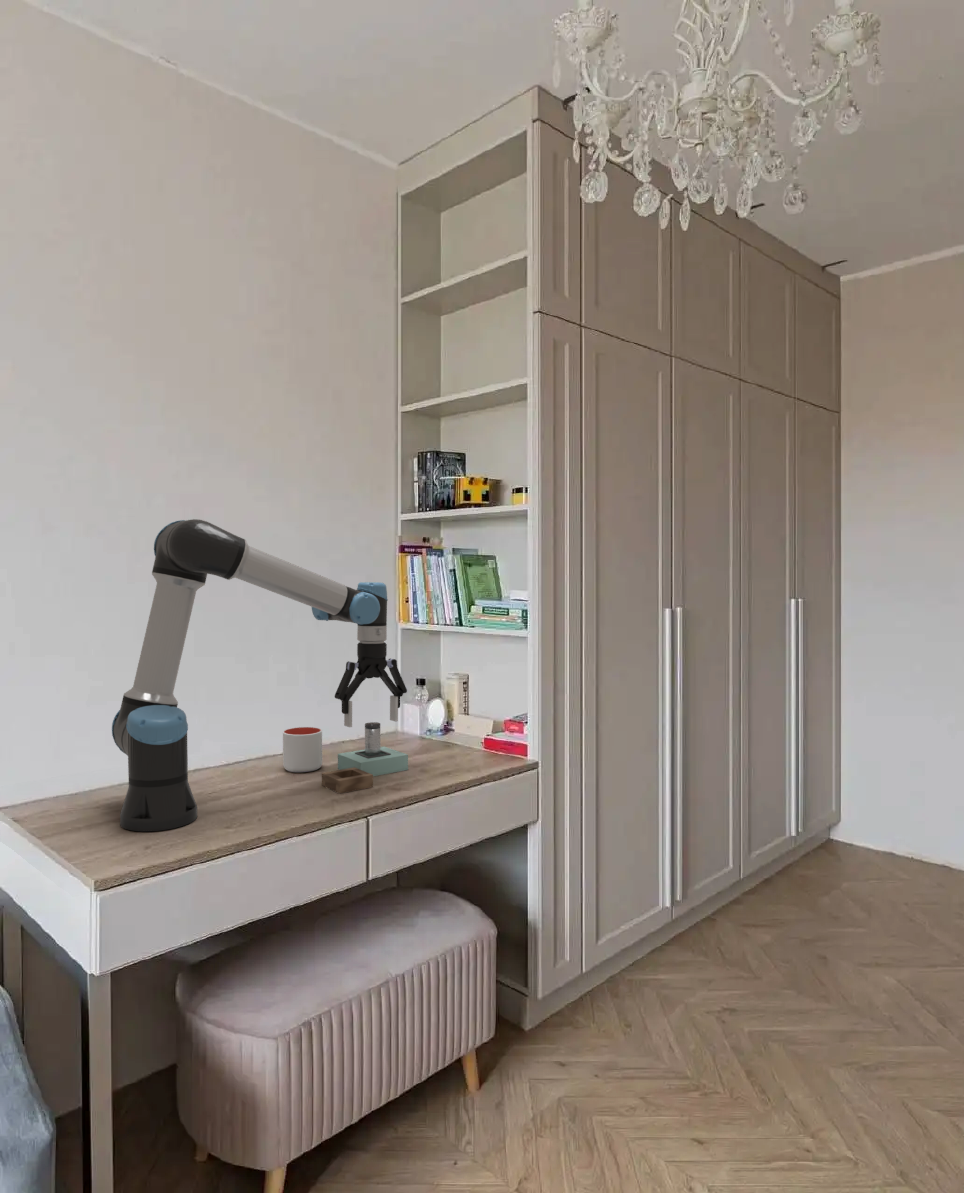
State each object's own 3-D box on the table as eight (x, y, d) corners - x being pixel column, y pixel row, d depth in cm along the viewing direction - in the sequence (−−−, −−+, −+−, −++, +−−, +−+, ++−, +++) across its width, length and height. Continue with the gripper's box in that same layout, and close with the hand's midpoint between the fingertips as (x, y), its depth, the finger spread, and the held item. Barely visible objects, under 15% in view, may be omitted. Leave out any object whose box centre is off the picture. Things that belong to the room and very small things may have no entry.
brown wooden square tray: (339, 793, 197) (339, 780, 196) (321, 785, 204) (321, 773, 204) (373, 787, 202) (372, 774, 202) (354, 779, 209) (354, 767, 209)
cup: (327, 764, 224) (326, 727, 224) (315, 774, 214) (315, 735, 214) (290, 763, 225) (290, 726, 225) (277, 773, 215) (277, 734, 215)
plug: (370, 772, 216) (369, 726, 215) (362, 769, 219) (361, 723, 218) (383, 769, 218) (383, 724, 218) (375, 766, 222) (375, 721, 221)
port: (360, 778, 210) (360, 761, 209) (337, 768, 219) (337, 752, 219) (408, 769, 218) (408, 753, 218) (384, 760, 228) (383, 745, 228)
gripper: (335, 645, 206) (335, 731, 207) (420, 640, 222) (419, 720, 223) (321, 643, 212) (321, 726, 213) (404, 638, 228) (404, 716, 229)
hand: (371, 723), depth 218 cm, fingers open, 13 cm apart
